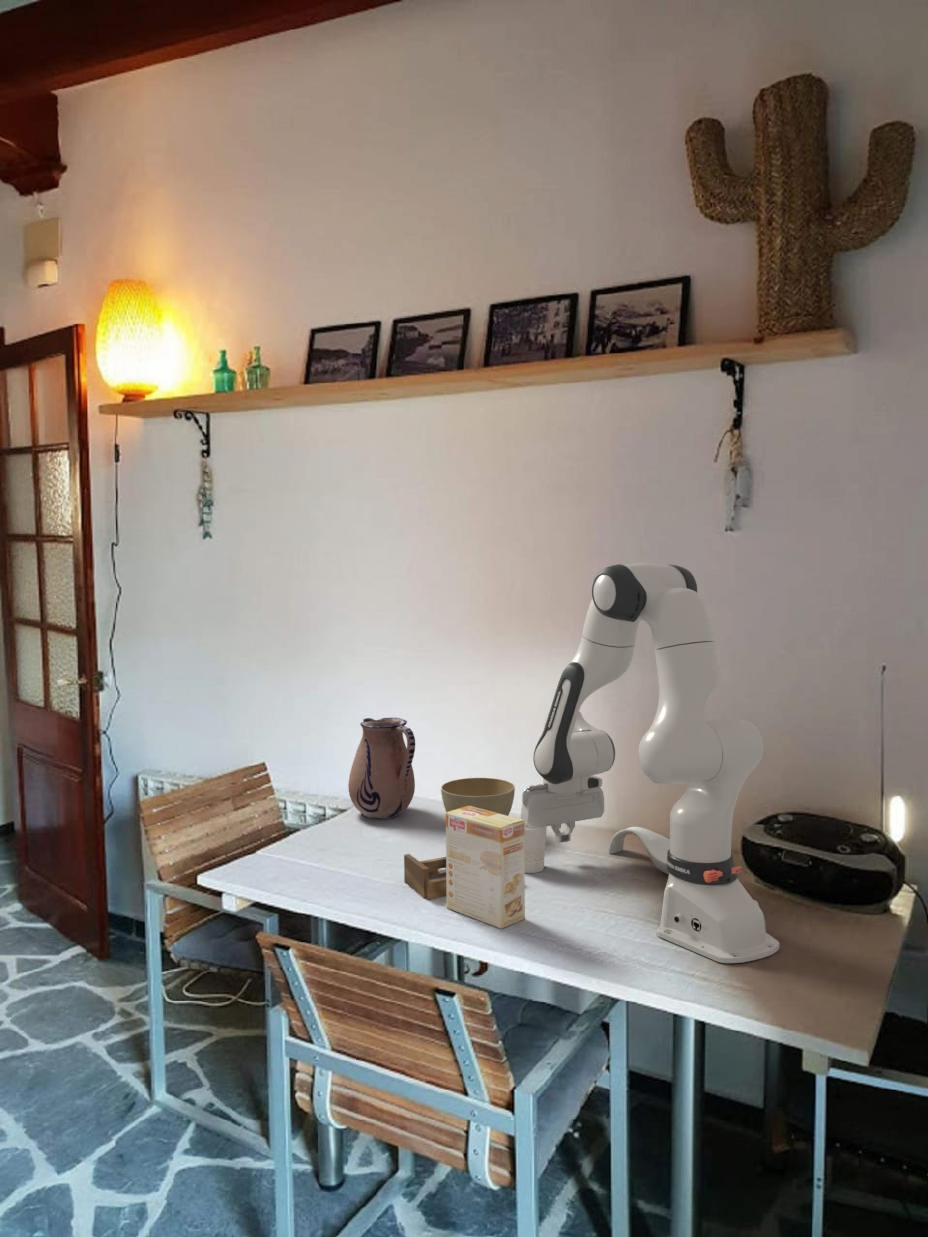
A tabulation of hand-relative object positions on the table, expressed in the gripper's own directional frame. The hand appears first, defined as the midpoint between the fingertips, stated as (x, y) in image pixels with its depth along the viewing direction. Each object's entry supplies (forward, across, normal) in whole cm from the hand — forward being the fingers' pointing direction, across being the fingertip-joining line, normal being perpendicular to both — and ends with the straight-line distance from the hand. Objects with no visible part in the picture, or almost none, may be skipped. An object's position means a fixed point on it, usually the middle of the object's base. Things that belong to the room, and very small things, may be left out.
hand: (562, 841), depth 212 cm
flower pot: (+5, -8, +26) cm, 28 cm away
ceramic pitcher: (+5, -22, +52) cm, 56 cm away
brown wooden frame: (+5, -26, 0) cm, 27 cm away
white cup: (+5, -9, 0) cm, 10 cm away
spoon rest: (+5, +17, -11) cm, 21 cm away
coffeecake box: (+5, -29, -18) cm, 34 cm away
